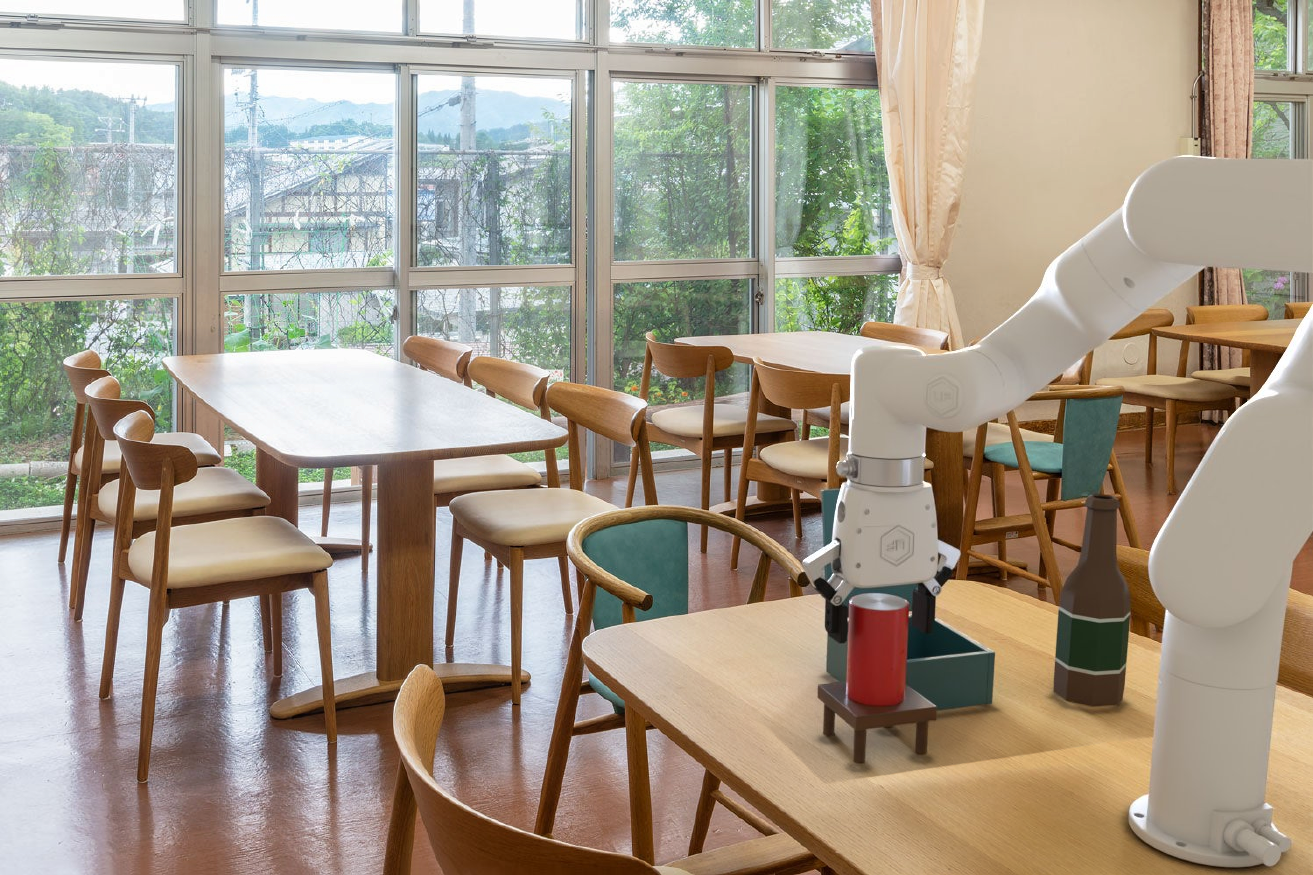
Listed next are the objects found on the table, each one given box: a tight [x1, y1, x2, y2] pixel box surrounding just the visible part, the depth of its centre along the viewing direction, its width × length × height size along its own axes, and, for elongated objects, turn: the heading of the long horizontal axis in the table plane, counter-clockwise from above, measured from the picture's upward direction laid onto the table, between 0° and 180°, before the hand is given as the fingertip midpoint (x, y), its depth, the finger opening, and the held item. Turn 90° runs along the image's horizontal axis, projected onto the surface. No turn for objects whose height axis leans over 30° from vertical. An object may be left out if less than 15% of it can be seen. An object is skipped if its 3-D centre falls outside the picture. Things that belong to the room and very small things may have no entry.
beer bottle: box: [1053, 493, 1132, 707], centre depth 144 cm, size 8×8×24 cm
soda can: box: [846, 593, 910, 706], centre depth 130 cm, size 6×6×10 cm
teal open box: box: [825, 614, 996, 712], centre depth 147 cm, size 15×14×7 cm
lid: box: [820, 488, 918, 619], centre depth 153 cm, size 15×14×1 cm
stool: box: [816, 681, 938, 765], centre depth 131 cm, size 9×9×6 cm
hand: (879, 634), depth 130 cm, fingers open, 9 cm apart
